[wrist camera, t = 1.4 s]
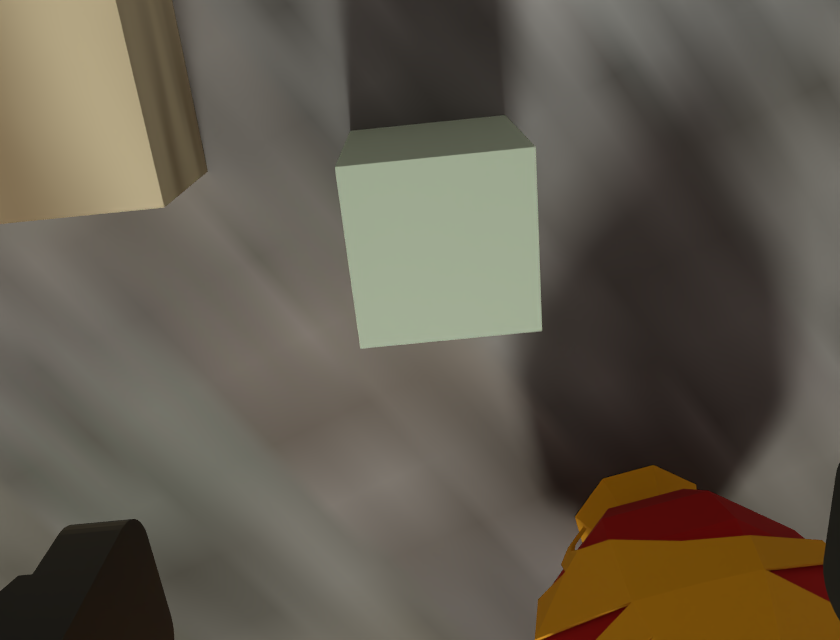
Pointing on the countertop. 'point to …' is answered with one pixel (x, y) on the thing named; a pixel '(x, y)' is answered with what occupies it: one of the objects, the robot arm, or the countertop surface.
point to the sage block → (441, 231)
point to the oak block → (93, 109)
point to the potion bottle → (684, 570)
